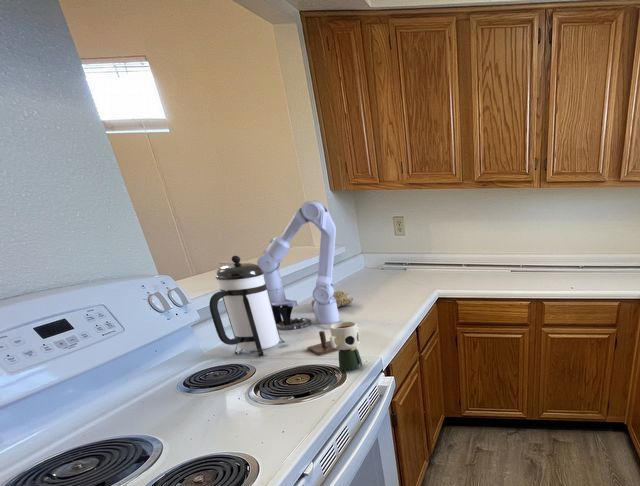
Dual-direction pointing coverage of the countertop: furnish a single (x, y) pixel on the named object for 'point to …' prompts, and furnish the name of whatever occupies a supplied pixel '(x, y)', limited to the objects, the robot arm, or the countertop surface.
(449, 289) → the countertop surface
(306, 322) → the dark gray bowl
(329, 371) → the countertop surface
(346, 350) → the character mug
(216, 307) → the coffee press
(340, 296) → the sponge
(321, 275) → the robot arm
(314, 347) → the peg
